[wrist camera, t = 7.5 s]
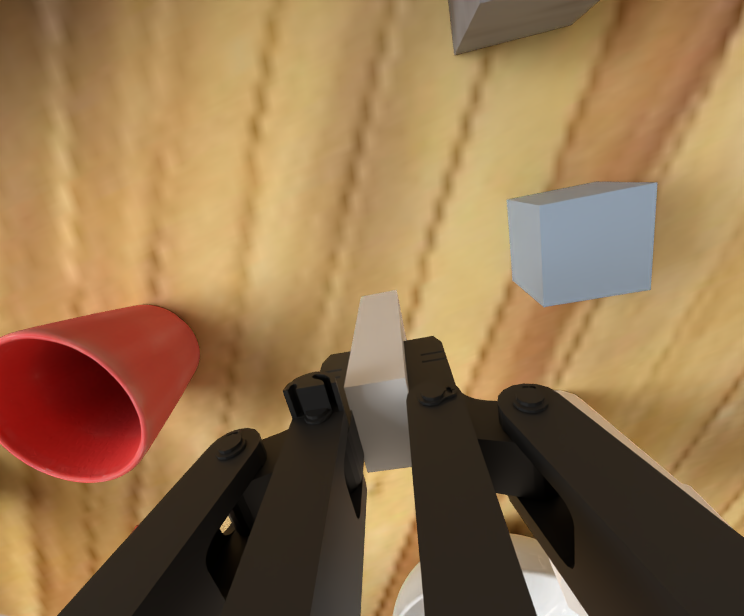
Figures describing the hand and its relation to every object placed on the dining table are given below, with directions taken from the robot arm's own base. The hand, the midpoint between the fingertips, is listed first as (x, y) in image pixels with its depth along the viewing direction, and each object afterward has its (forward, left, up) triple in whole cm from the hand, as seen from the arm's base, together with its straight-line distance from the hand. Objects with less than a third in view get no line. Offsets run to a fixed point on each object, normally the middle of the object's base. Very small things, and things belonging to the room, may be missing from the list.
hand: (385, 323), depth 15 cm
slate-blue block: (0, +12, -13) cm, 18 cm away
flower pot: (+4, -21, -13) cm, 25 cm away
